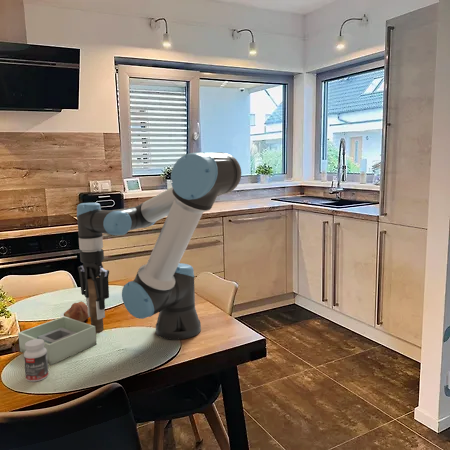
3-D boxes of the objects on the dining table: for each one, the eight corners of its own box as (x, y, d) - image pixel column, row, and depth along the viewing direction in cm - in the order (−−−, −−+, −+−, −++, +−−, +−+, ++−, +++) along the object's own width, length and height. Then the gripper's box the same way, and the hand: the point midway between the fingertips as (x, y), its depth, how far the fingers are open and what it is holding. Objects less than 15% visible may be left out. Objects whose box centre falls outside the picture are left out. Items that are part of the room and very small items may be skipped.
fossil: (68, 321, 144) (66, 293, 149) (53, 328, 148) (52, 301, 152) (98, 323, 154) (96, 297, 159) (83, 330, 158) (82, 304, 162)
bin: (96, 344, 135) (95, 326, 134) (50, 364, 122) (49, 345, 121) (65, 333, 144) (64, 316, 143) (20, 351, 131) (18, 332, 130)
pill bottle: (25, 384, 112) (22, 348, 110) (26, 374, 117) (22, 340, 115) (49, 379, 114) (46, 344, 112) (48, 370, 119) (45, 336, 117)
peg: (106, 328, 146) (102, 278, 143) (96, 333, 143) (92, 281, 140) (98, 326, 148) (94, 276, 146) (88, 330, 145) (85, 279, 142)
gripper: (117, 250, 140) (122, 318, 143) (84, 244, 149) (89, 308, 153) (99, 254, 133) (104, 325, 137) (66, 249, 143) (71, 315, 147)
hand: (96, 316), depth 145 cm, fingers closed on peg, 4 cm apart
